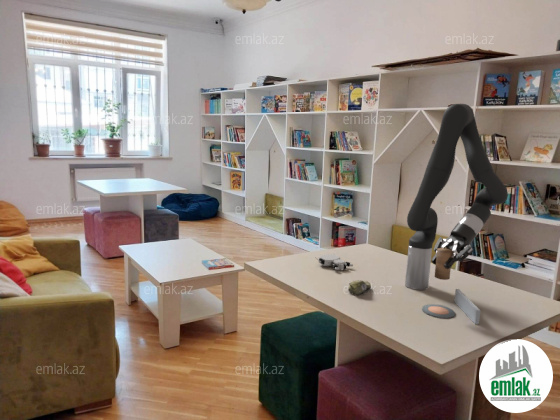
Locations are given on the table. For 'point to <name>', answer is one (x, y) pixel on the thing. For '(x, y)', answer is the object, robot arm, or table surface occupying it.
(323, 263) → the robot toy
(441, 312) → the mat
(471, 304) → the acrylic wall
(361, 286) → the rock
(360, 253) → the table surface
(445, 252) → the walnut pin
